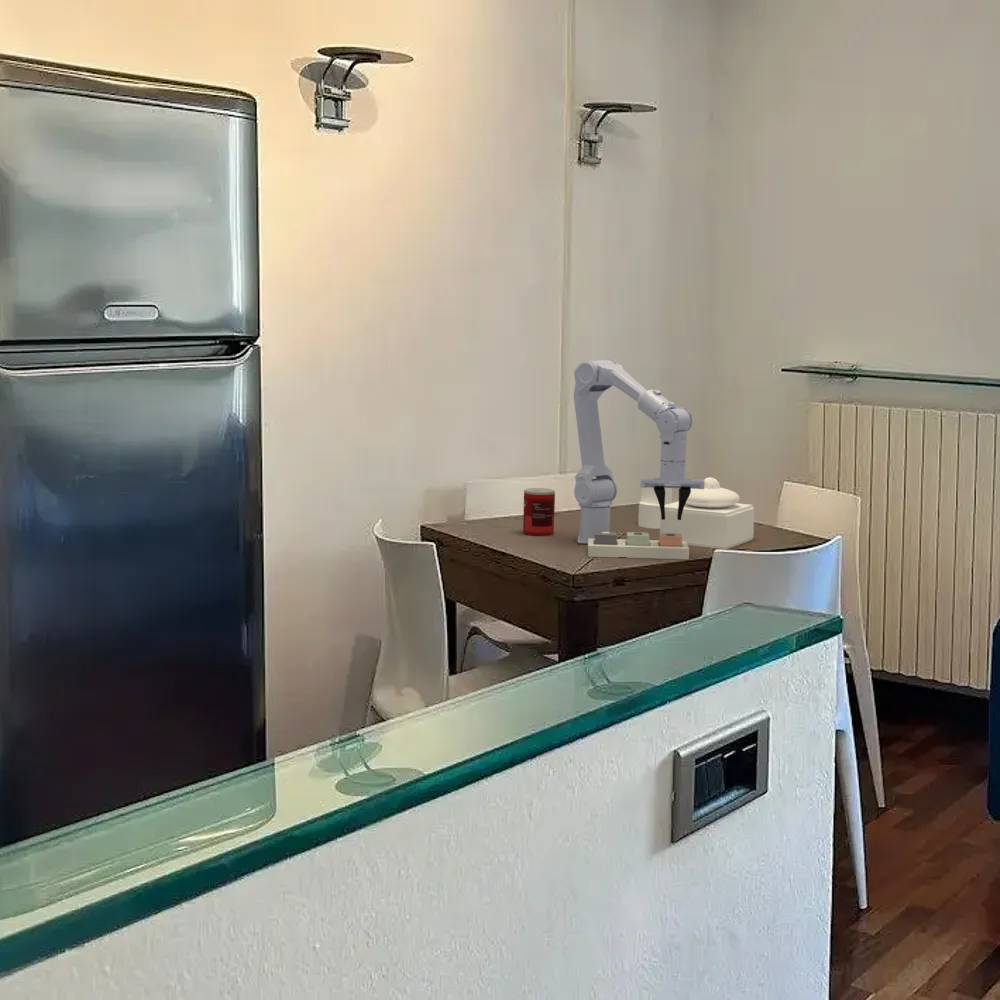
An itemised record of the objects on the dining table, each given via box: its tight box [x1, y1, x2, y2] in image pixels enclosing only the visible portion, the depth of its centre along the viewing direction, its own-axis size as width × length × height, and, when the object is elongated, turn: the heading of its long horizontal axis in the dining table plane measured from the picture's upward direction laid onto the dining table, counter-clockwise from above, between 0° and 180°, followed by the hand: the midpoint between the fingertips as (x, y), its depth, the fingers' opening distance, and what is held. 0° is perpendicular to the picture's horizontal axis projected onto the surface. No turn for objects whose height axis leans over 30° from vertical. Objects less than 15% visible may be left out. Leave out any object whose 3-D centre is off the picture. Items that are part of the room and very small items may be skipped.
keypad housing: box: [587, 538, 690, 560], centre depth 317 cm, size 10×23×2 cm, turn 86°
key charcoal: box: [595, 531, 618, 545], centre depth 318 cm, size 5×5×3 cm
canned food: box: [522, 487, 556, 537], centre depth 343 cm, size 8×8×11 cm
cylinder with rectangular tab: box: [637, 477, 673, 530], centre depth 358 cm, size 9×9×12 cm
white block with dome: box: [659, 476, 755, 550], centre depth 337 cm, size 18×18×16 cm
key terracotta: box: [658, 532, 682, 547], centre depth 317 cm, size 5×5×3 cm
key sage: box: [626, 531, 650, 546], centre depth 317 cm, size 5×5×3 cm
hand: (671, 519), depth 316 cm, fingers open, 3 cm apart
